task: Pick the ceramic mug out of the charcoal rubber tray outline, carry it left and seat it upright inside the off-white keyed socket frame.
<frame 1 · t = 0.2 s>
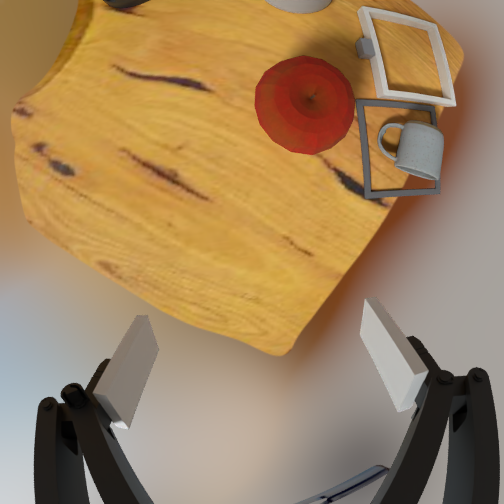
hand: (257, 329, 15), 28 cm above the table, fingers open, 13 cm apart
apple: (294, 113, 36), on the table
tray outline: (403, 148, 37), on the table
socket: (407, 57, 31), on the table
ceramic mug: (401, 148, 37), on the table
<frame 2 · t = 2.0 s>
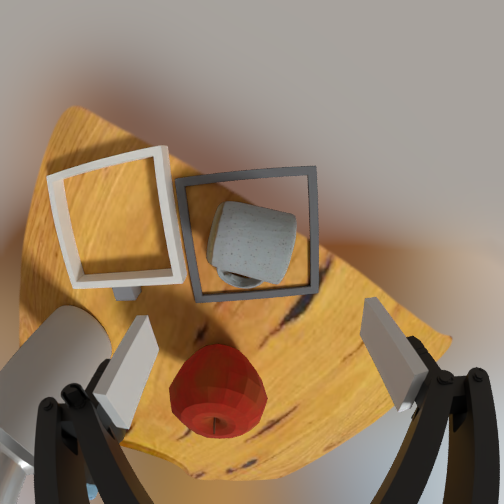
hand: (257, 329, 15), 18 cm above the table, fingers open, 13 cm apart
cylinder vase: (82, 334, 38), on the table
apple: (222, 355, 39), on the table
tray outline: (251, 238, 32), on the table
socket: (114, 221, 31), on the table
ceramic mug: (250, 241, 33), on the table
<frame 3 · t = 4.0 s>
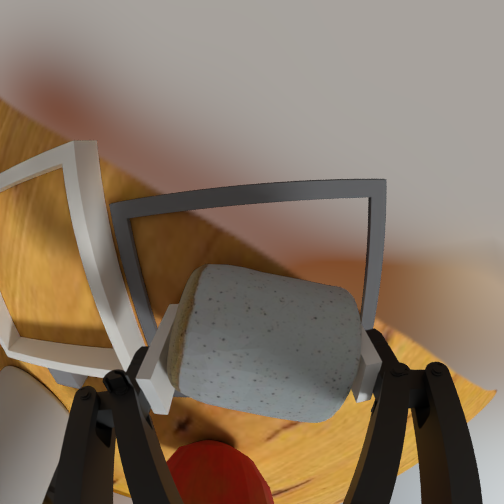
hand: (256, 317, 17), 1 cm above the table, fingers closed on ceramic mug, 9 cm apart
cylinder vase: (38, 397, 23), on the table
apple: (214, 445, 24), on the table
tray outline: (257, 313, 17), on the table
socket: (36, 271, 16), on the table
ceramic mug: (256, 322, 18), on the table, touching gripper
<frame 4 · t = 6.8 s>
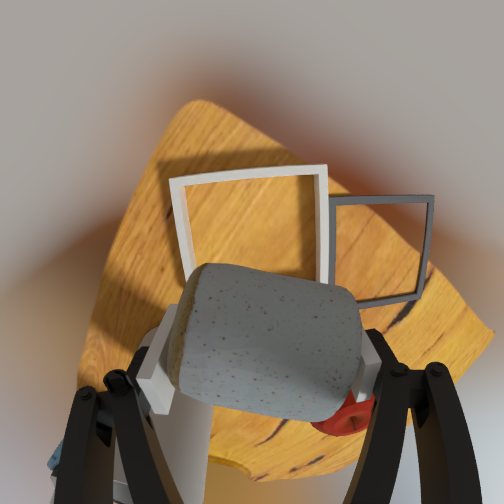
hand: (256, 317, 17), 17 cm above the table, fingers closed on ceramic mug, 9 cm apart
cylinder vase: (180, 353, 40), on the table
apple: (332, 360, 40), on the table
tray outline: (382, 254, 34), on the table
socket: (253, 235, 33), on the table
ceramic mug: (257, 321, 18), point 16 cm above the table, touching gripper
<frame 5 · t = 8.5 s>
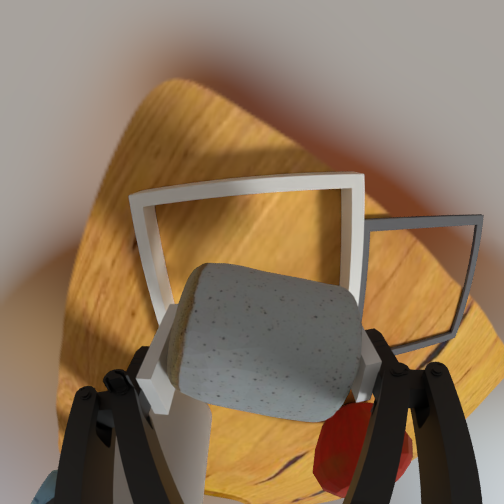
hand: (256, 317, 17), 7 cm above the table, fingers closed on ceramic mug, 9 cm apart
cylinder vase: (165, 404, 30), on the table
apple: (348, 409, 31), on the table
tray outline: (420, 291, 24), on the table
socket: (254, 273, 23), on the table
ceramic mug: (257, 321, 18), point 6 cm above the table, touching gripper
when the fingers open (3 cm above the table, at t = 9.8 s): ceramic mug drops 2 cm, on the table.
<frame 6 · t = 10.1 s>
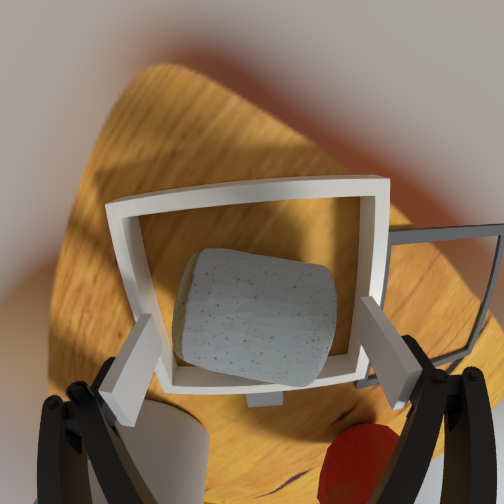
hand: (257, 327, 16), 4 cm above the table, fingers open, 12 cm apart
cylinder vase: (159, 424, 26), on the table
apple: (355, 429, 27), on the table
tray outline: (440, 309, 20), on the table
socket: (256, 294, 19), on the table
ceramic mug: (251, 302, 20), on the table
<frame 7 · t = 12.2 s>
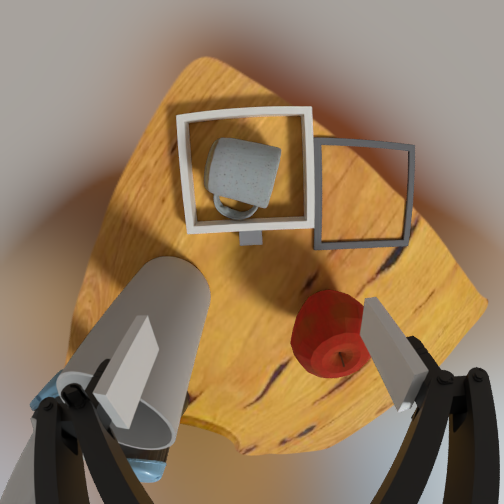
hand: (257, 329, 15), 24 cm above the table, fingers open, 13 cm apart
cylinder vase: (173, 289, 43), on the table
apple: (322, 305, 43), on the table
tray outline: (367, 195, 36), on the table
socket: (247, 168, 35), on the table
ceramic mug: (244, 178, 36), on the table
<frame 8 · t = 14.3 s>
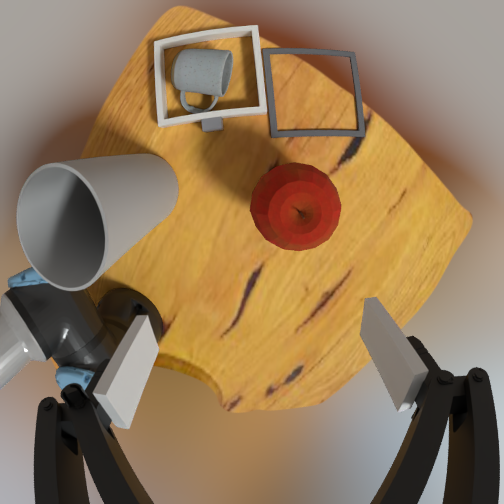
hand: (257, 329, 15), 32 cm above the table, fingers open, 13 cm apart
cylinder vase: (146, 189, 44), on the table
apple: (288, 196, 44), on the table
tray outline: (315, 90, 38), on the table
socket: (209, 75, 37), on the table
ceramic mug: (206, 84, 38), on the table
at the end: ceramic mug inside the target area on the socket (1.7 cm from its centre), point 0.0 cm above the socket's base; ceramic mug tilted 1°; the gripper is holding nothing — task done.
